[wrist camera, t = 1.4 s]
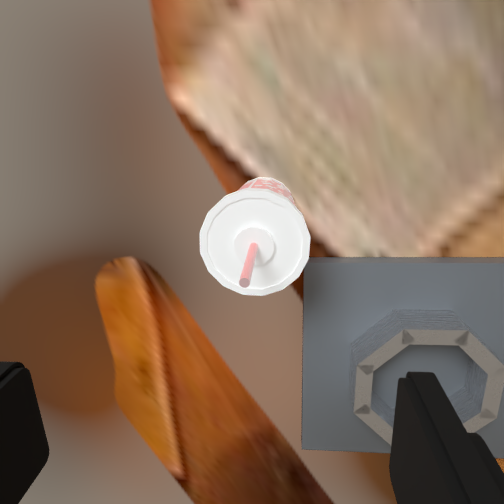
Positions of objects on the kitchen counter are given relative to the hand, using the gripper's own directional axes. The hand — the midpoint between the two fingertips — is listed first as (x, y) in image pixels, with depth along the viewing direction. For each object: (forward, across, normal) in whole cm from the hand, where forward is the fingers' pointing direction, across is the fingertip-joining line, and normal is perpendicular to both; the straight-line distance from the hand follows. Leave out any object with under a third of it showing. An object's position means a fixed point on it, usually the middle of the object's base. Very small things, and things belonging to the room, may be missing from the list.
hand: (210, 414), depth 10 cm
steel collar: (+20, -12, +13) cm, 27 cm away
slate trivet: (+22, -12, +13) cm, 28 cm away
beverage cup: (+22, 0, 0) cm, 22 cm away
